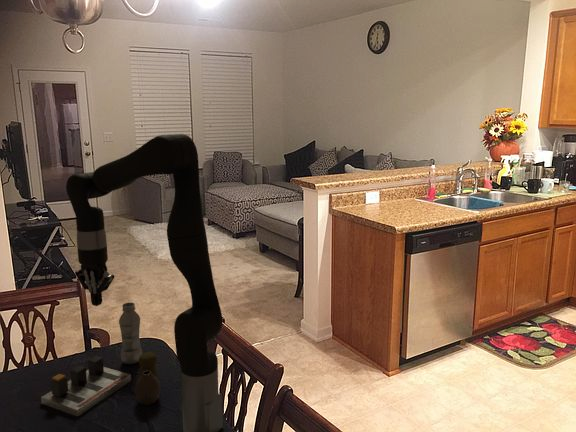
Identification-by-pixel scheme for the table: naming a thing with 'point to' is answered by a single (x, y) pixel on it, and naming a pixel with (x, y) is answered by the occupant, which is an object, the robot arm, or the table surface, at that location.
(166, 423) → the table surface
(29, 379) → the table surface
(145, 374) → the vase
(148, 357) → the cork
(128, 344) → the plastic bottle
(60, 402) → the breaker panel
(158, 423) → the table surface
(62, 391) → the breaker handle
